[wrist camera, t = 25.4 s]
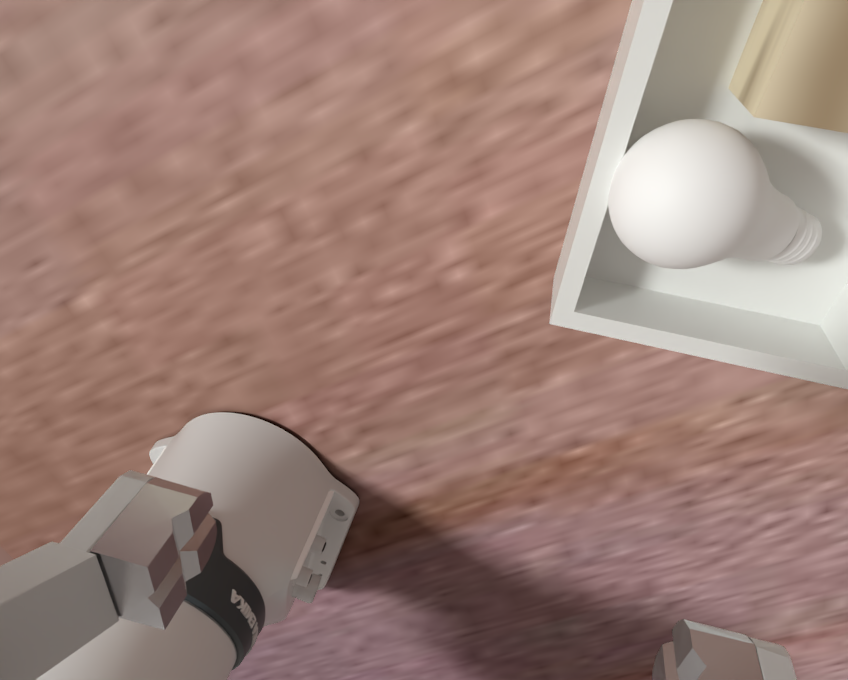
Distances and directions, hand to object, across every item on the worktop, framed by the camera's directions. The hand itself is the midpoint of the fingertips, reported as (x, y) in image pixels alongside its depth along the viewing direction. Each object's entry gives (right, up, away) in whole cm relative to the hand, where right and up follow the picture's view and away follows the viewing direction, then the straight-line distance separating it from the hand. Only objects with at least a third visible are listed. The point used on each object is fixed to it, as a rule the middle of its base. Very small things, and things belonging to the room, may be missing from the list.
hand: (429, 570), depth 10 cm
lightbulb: (+18, +9, +18) cm, 27 cm away
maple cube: (+16, +17, +14) cm, 27 cm away
